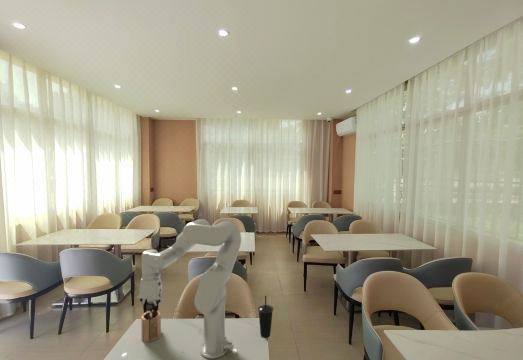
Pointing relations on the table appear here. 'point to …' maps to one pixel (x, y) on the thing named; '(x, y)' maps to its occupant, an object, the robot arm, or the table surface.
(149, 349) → the table surface
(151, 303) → the plunger
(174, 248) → the robot arm
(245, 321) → the table surface
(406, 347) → the table surface
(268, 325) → the drinking cup
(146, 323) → the brown faceted holder
